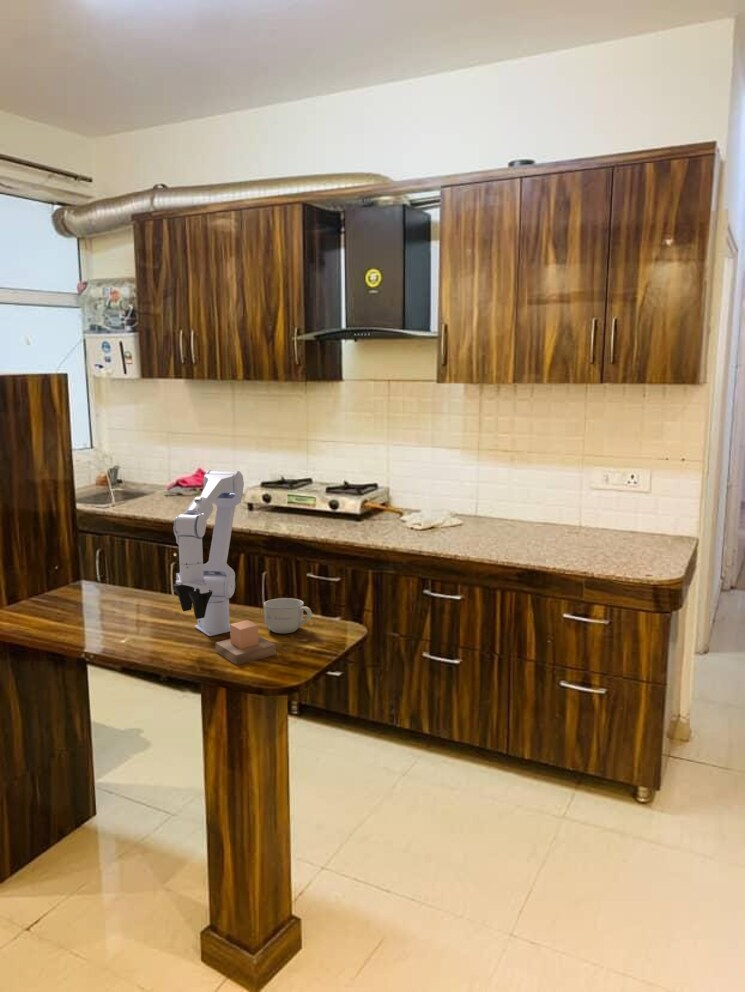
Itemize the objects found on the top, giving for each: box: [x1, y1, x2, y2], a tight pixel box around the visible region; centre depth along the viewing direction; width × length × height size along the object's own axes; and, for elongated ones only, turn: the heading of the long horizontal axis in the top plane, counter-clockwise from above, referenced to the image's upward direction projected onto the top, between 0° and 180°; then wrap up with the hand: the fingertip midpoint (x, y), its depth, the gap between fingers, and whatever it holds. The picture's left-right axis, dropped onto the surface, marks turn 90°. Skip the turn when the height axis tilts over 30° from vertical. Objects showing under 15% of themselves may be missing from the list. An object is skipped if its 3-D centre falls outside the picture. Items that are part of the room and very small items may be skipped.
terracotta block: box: [229, 619, 259, 649], centre depth 189 cm, size 5×5×5 cm
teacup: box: [263, 597, 313, 634], centre depth 205 cm, size 14×11×8 cm
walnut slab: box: [215, 635, 277, 666], centre depth 190 cm, size 11×11×3 cm
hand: (193, 614), depth 190 cm, fingers open, 7 cm apart
